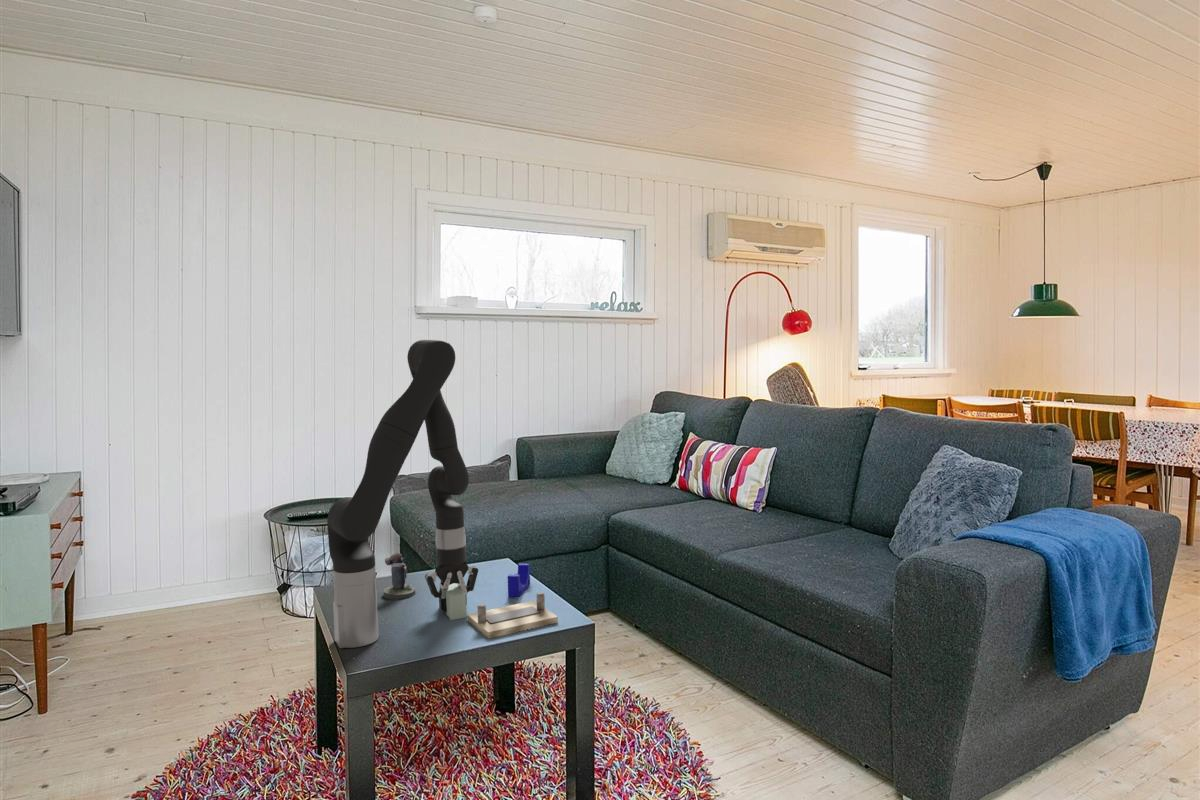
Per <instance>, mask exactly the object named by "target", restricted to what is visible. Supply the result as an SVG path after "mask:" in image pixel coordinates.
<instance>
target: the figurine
mask: <svg viewBox="0 0 1200 800" xmlns="http://www.w3.org/2000/svg"><path fill="white" fill-rule="evenodd" d="M405 558H406V557H403V555H402V553H399V552H395V553H393V554H391V556H389V557H386V558H385V559H384V563H385V565H387V566H391V570H390V572H391V586H388V587H386V588H384V589H383V598H384V599H387V598H388V599H387V600H402V598H404V599H408V598H411V597H412V595H413V596H414V595H416V587H414V586H413V585H411V584H406V579H407V577H408V574H407V569H408V567H407V566H406V563H404V562H406V561H405ZM410 596H411V597H410ZM407 597H408V598H407Z"/></svg>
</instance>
